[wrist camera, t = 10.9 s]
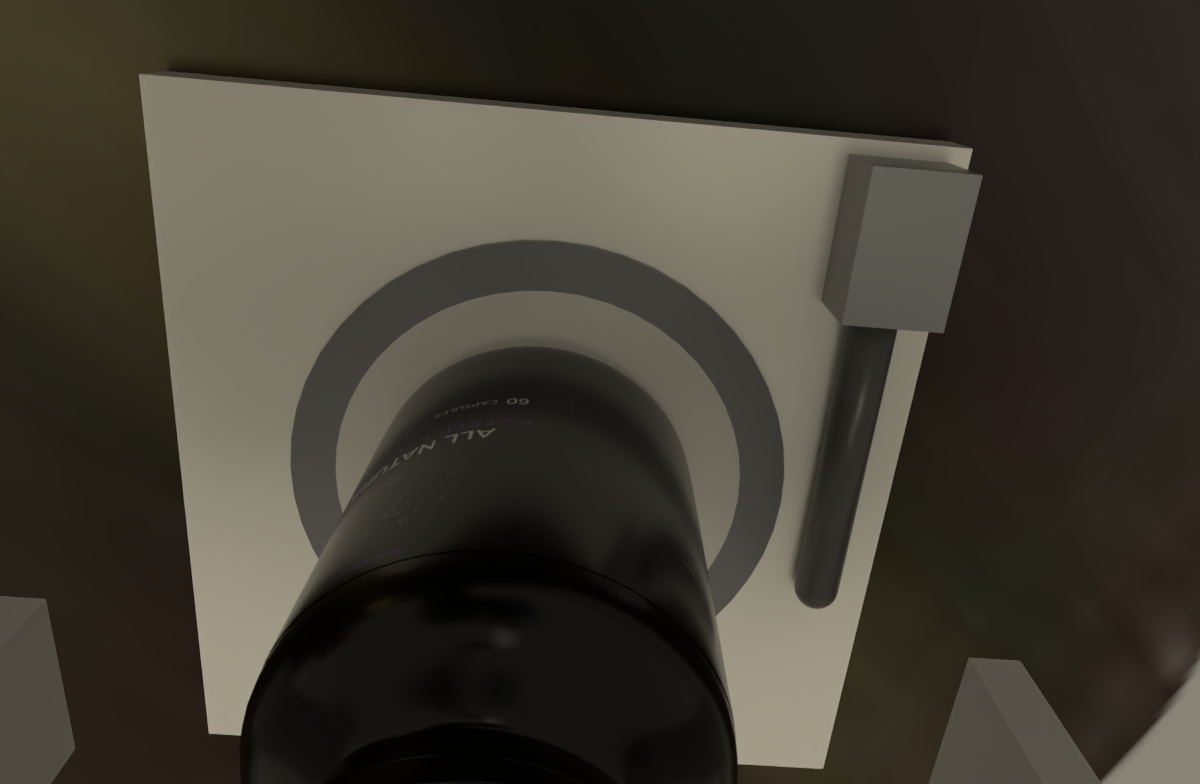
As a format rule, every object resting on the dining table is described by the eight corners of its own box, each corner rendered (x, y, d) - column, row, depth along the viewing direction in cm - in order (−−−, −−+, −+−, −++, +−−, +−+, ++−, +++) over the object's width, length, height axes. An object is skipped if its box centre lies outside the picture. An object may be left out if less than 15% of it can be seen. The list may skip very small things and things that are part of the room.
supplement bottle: (444, 283, 18) (200, 714, 7) (741, 411, 19) (946, 959, 8) (337, 546, 20) (28, 1181, 9) (606, 646, 21) (619, 1317, 10)
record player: (167, 71, 18) (94, 77, 15) (949, 141, 18) (1008, 160, 16) (226, 700, 24) (182, 783, 21) (811, 735, 24) (838, 818, 22)
